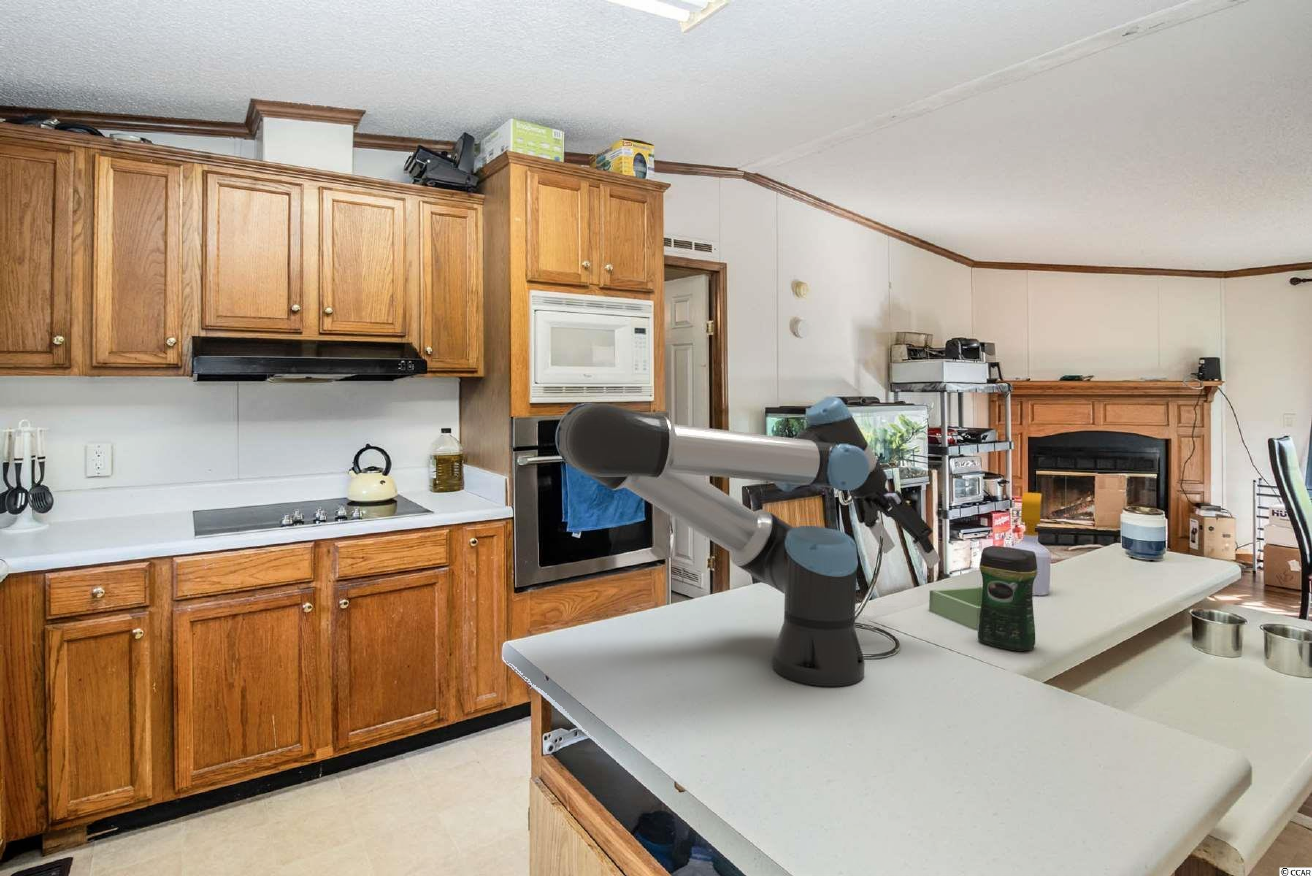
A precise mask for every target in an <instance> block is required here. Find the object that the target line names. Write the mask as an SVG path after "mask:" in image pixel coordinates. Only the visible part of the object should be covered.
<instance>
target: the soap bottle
mask: <svg viewBox="0 0 1312 876" xmlns="http://www.w3.org/2000/svg"><path fill="white" fill-rule="evenodd" d="M1042 494H1043V493H1040V492H1039V493H1038V492H1022V496H1021V497H1022V498H1021V512H1020V523H1024V526H1026V530H1024V531H1022V533H1023V534H1022V540H1021V541H1019V542H1017V543H1015V544H1013V545H1012V546H1011V547H1010V548H1017V549H1022V550H1028V551H1033V552H1034V553H1035V555H1036V562H1037V569H1038V572H1037V575H1036V578H1035V579H1034V582H1033V595H1039V596H1038V597H1041V596H1040V595H1045V596H1047V595H1046V594H1048V595H1049V594H1050V585H1051V584H1050V583H1051V579H1050V578H1051V561H1052V557H1051V556H1052V555H1051V552H1050V550H1049V549H1048V548H1047V547H1046V546H1044V545H1043V544H1041V543H1040V542H1039V532H1037V531H1035V530H1036V529H1035V528H1037V527H1038V525H1041V523H1042V521H1041V506H1042V496H1043V495H1042Z"/></svg>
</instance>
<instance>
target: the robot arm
mask: <svg viewBox="0 0 1312 876" xmlns="http://www.w3.org/2000/svg"><path fill="white" fill-rule="evenodd" d="M805 418H806V421H807V424H808V425H807V426H806V427H805V428H804V429H803V430H802V431H800V432H799V433H798V434H797V435H795V436H794V437H783V436H778V435H777V436H775V435H768V434H759V433H752V432H751V433H750V432H745V431H744V432H742V431H735V430H726V429H717V428H710V427H700V426H692V425H684V424H676V423H671V420H669V419H668V417H666V416H664V415H663V416H662V415H655V414H649V413H644V412H641V411H636V410H633V409H629V408H627V407H626V408H625V407H622V406H620V405H619V406H618V405H615V404H611V403H598V404H597V403H595V402H588V403H587V402H586V403H581V404H577V405H575V406H574V407H572V408H571V409H569V410H568V411H567V412H566V413H565V414H564V415H563V416H562V417H561V419H560V420H559V423H558V425H557V427H556V430H555V445H556V449H557V452H558V454H559V456H560V457H561V458H562V461H563V462H564V463H565V464H566V465H568V466H569V467H570V468H572V469H574V470H577V471H580V472H582V473H583V474H585V475H587V476H589V477H590V478H592V479H594V480H595V481H597V482H598V483H599V484H602V485H603V486H605V487H607V488H609V489H610V490H612V491H617V490H621V489H627V490H628V491H630V492H632V493H634V494H635V495H637V496H638V497H640V498H641V499H643V500H645V501H646V502H648V503H650V504H651V505H653V506H655V507H656V508H658V509H659V510H661V511H662V512H664V513H666V514H667V515H669V516H671V517H673V519H676V520H678V521H679V522H680V523H682V524H684V526H685V525H686V526H687V527H688V528H691V529H692V530H694V531H695V532H697V533H698V534H700V535H702V536H703V537H705V538H706V539H709V540H710V541H712V542H713V543H715V544H717V545H718V546H720V547H721V548H722V549H725V550H726V551H728V552H729V557H730V560H731V563H733V565H735V566H737V567H738V568H740V569H741V570H743V571H745V572H747V573H748V574H749V575H750V576H751V577H752V578H753V579H755V580H756V581H758V582H761V583H762V584H765V585H768V586H770V587H772V588H773V589H775V590H777V591H779V592H781V593H782V594H784V605H783V606H784V608H783V609H784V612H783V614H784V617H783V623H782V626H781V629H780V632H779V634H778V637H777V640H776V643H775V645H774V646H775V647H774V649H773V652H772V668H773V670H774V671H775V672H776V673H777V674H779V675H780V676H781V677H784V678H786V679H789V680H791V681H794V682H797V683H801V684H805V685H810V686H819V687H842V686H849V685H853V684H857V683H859V682H860V681H862V680H863V678H864V677H865V663H866V662H865V659H864V655H863V651H862V648H861V645H860V642H859V638H858V634H857V632H856V627H855V626H856V625H855V622H856V603H857V602H856V599H857V598H856V597H857V595H856V592H857V568H858V565H859V561H858V553H857V550H858V549H857V545H856V544H857V543H856V542H855V541H854V539H853V538H852V537H851V536H850V535H848V534H847V533H845V532H843V531H840V530H837V529H833V528H827V527H824V526H817V525H816V526H815V525H801V526H795V527H794V526H792V525H790V524H789V523H787V522H786V521H784V520H782V519H781V518H779V517H778V516H777V515H775V514H773V513H772V512H770V511H769V510H767V509H758V510H756V511H753V510H752V509H750V508H748V507H747V506H745V505H744V504H743V503H741V502H740V501H738V500H737V499H735V498H734V497H731V496H730V495H729V494H727V493H725V492H724V491H722V490H721V489H720V488H718V487H716V486H715V485H713V484H712V483H710V482H709V481H706V480H705V479H703V478H702V477H700V476H708V477H718V478H728V479H729V478H730V479H740V480H741V479H742V480H750V481H760V482H761V481H763V482H771V483H773V484H775V486H776V487H778V488H779V489H780V490H782V491H783V492H787V493H788V492H792V491H793V490H795V489H796V488H798V487H801V485H802V486H803V485H804V486H810V487H811V486H812V487H820V488H822V487H823V488H831V489H832V488H833V489H835V490H839V491H848V494H849V495H850V497H851V499H852V502H853V508H854V510H855V514H856V518H857V521H858V523H859V524H864V525H865V527H867V528H868V529H869V531H870V532H871V534H872V536H873V537H874V539H875V541H876V542H877V544H878V546H879V547H880V536H881V531H882V538H883V546H882V549H881V551H882V552H883V554H886V555H887V554H888V553H889V552H890V551H891V550H892V549H894V548H895V547H896V545H895V543H894V541H893V539H892V538H891V536H890V535H889V533H888V531H887V529H886V528H885V526H884V525H883V522H882V521H881V520H879V519H880V517H879V516H878V514H879V513H878V512H880V513H882V514H883V515H884V516H885V517H887V518H891V519H892V520H893V521H894V522H895V523H896V524H897V525H899V526H900V527H901V528H902V529H903V530H904V531H905V532H906V533H907V534H908V535H909V536H911V537H912V538H913V540H912V543H913V544H914V545H915V547H916V549H917V551H918V552H919V554H920V556H921V557H922V559H923V561H924V563H925V564H926V566H927V567H928V568H929V569H932V568H933V567H935V565H937V564H938V563H939V562H940V561H941V560H942V559H941V558H940V556H939V554H938V552H937V551H936V549H935V547H934V545H933V543H932V542H931V540H930V538H929V536H930V535H931V534H932V533H934V532H933V529H932V528H931V527H930V526H929V525H928V524H927V522H926V521H925V520H924V519H923V518H922V517H921V516H920V514H918V512H916V511H915V509H914V508H913V507H912V506H911V505H910V504H909V503H908V502H907V500H906V499H905V498H904V496H903V495H902V493H901V492H900V491H899V490H895V491H894V492H892V493H891V492H890V491H889V489H888V488H887V487H886V484H887V482H888V475H887V474H886V472H885V471H884V468H883V467H882V465H881V464H880V462H878V459H877V457H876V455H875V453H874V452H873V451H872V449H871V445H870V444H868V442H867V439H866V438H865V436H864V434H863V432H862V431H861V429H860V427H859V426H858V424H857V422H856V420H855V419H854V417H853V414H852V413H851V411H850V410H849V408H848V407H847V405H846V404H845V402H844V401H843V400H842V399H841V398H839V397H835V396H833V397H831V396H830V397H827V398H825V399H821V400H820V401H818V402H817V403H815V404H814V405H812V406H811V407H810V408H809V410H807V412H805Z"/></svg>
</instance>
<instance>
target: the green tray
mask: <svg viewBox="0 0 1312 876" xmlns="http://www.w3.org/2000/svg"><path fill="white" fill-rule="evenodd" d="M982 590H983V586H972V587H960V588H959V587H958V588H957V587H956V588H948V589H947V588H946V589H944V588H943V589H934V590H933V589H932V590H929V602H928V603H929V604H928V605H929V606H928V611H929V612H930V613H931V612H932V613H934V614H936V615H939V616H941V617H944V618H946V619H949V620H951V621H954V622H955V623H958V624H961V625H963V626H966V627H968V628H971V629H973V630H976V631H978V624H979V616H980V609H981V601H982Z"/></svg>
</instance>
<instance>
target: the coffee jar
mask: <svg viewBox="0 0 1312 876" xmlns="http://www.w3.org/2000/svg"><path fill="white" fill-rule="evenodd" d="M979 571H980V573H981V578H982V579H981V580H982V587H983V590H982V601H981V609H980V616H979V624H978V630H977V639H978V640H979V641H980V642H981V643H983V644H986V645H989V646H992V647H996V648H1000V649H1005V650H1010V651H1011V650H1012V651H1018V652H1020V651H1030V650H1031V649H1033V648H1035V645H1036V626H1035V624H1036V623H1035V617H1034V616H1035V615H1034V603H1033V602H1034V601H1033V599H1034V598H1033V597H1034V596H1033V582H1034V579H1035V578H1036V575H1037V572H1038V569H1037V562H1036V555H1035V553H1034V552H1033V551H1028V550H1022V549H1017V548H1011V547H1009V546H1000V545H991V546H990V545H989V546H987V547H984V548H983V549H982V551H981V555H980V562H979Z"/></svg>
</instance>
